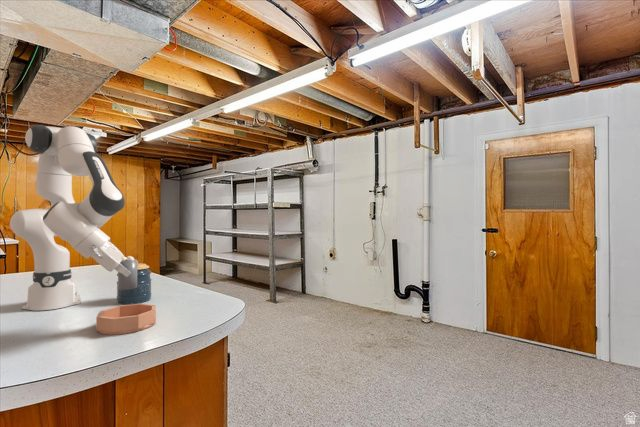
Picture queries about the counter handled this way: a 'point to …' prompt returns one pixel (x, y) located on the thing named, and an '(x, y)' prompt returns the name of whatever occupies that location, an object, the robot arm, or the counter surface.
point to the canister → (141, 291)
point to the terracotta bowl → (126, 319)
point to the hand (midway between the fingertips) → (130, 273)
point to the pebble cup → (131, 280)
